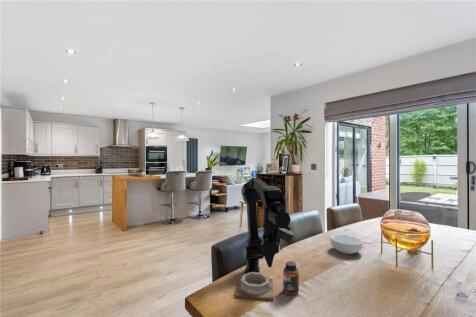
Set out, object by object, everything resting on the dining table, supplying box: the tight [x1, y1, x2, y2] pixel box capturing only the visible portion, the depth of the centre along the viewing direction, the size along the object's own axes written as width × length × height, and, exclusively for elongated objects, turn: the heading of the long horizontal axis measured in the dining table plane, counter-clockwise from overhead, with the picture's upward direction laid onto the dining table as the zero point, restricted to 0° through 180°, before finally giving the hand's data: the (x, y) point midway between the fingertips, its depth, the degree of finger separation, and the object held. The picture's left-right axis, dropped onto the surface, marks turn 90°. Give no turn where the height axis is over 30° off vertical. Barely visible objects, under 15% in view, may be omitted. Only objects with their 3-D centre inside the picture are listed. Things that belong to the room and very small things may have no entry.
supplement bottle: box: [282, 260, 300, 296], centre depth 94 cm, size 6×6×11 cm
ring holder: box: [235, 272, 274, 302], centre depth 95 cm, size 14×14×4 cm
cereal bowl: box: [329, 234, 363, 255], centre depth 136 cm, size 17×17×7 cm
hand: (270, 261), depth 91 cm, fingers open, 9 cm apart
